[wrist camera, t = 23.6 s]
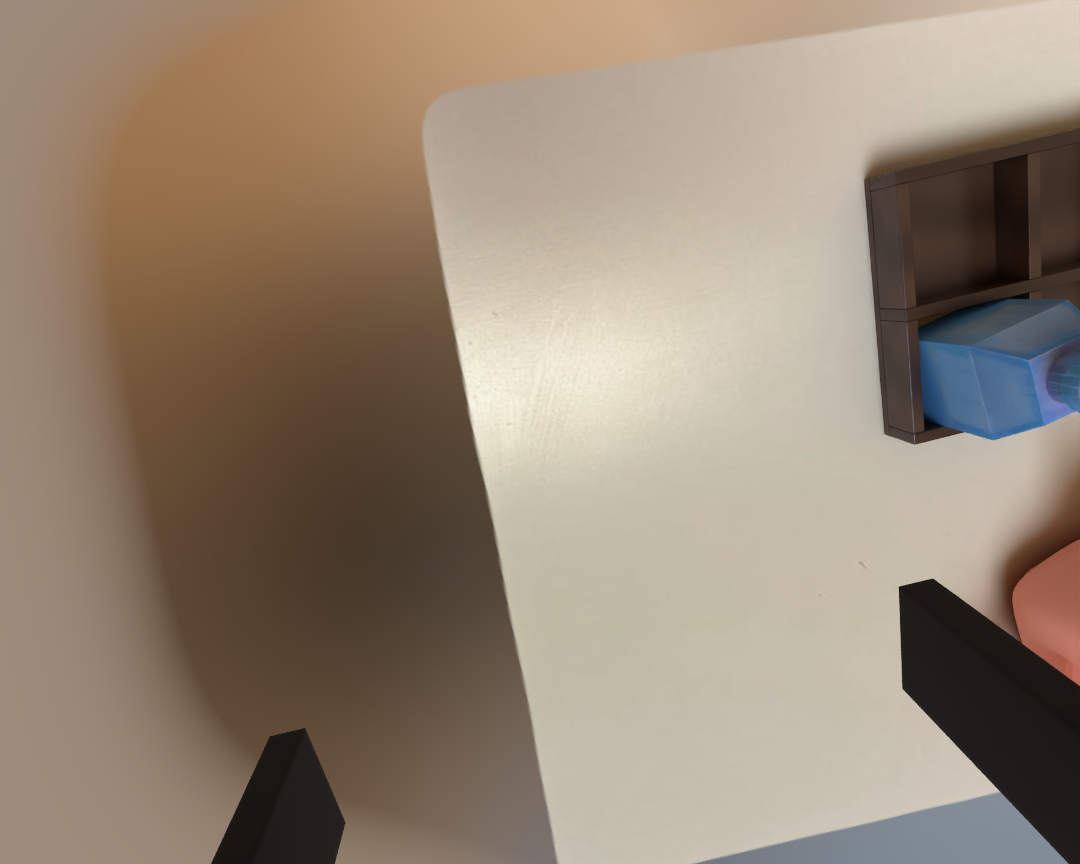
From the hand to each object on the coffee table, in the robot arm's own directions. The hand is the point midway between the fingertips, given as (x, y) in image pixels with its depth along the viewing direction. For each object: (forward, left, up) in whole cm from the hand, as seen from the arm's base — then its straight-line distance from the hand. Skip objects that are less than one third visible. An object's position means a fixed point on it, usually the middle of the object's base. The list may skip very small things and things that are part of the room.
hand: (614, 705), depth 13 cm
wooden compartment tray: (-2, +33, -28) cm, 43 cm away
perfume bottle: (+2, +29, -27) cm, 40 cm away
